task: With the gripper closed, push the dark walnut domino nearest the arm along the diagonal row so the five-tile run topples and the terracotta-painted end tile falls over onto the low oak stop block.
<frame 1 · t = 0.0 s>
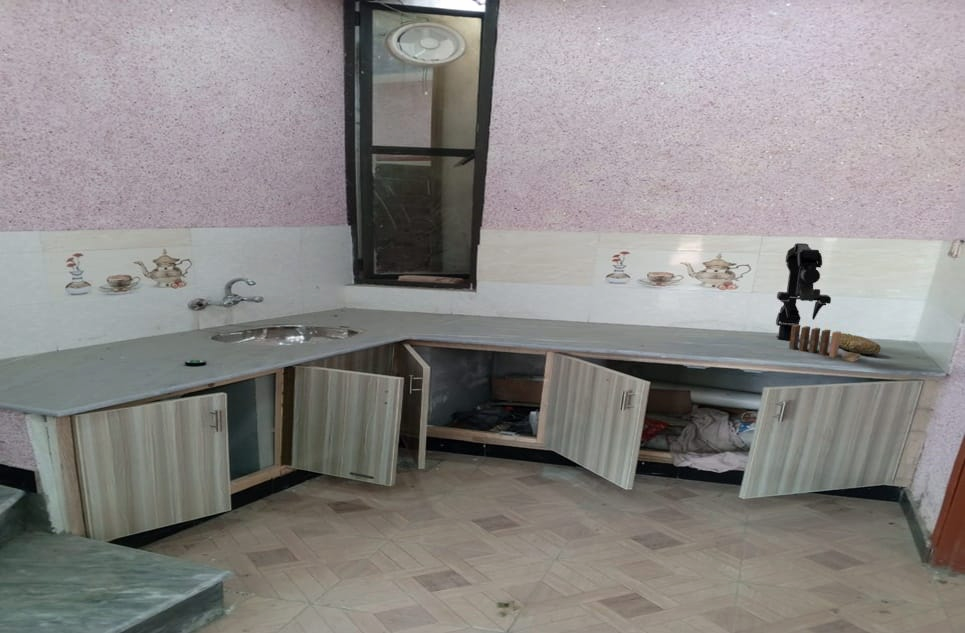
hand: (800, 318, 239), 15 cm above the worktop, fingers open, 9 cm apart
domino 2: (802, 350, 248), on the worktop
domino 5: (833, 356, 239), on the worktop
domino 4: (822, 354, 242), on the worktop
domino 3: (812, 352, 245), on the worktop
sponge: (854, 352, 249), on the worktop
domino 1: (793, 348, 251), on the worktop
stop block: (850, 359, 235), on the worktop
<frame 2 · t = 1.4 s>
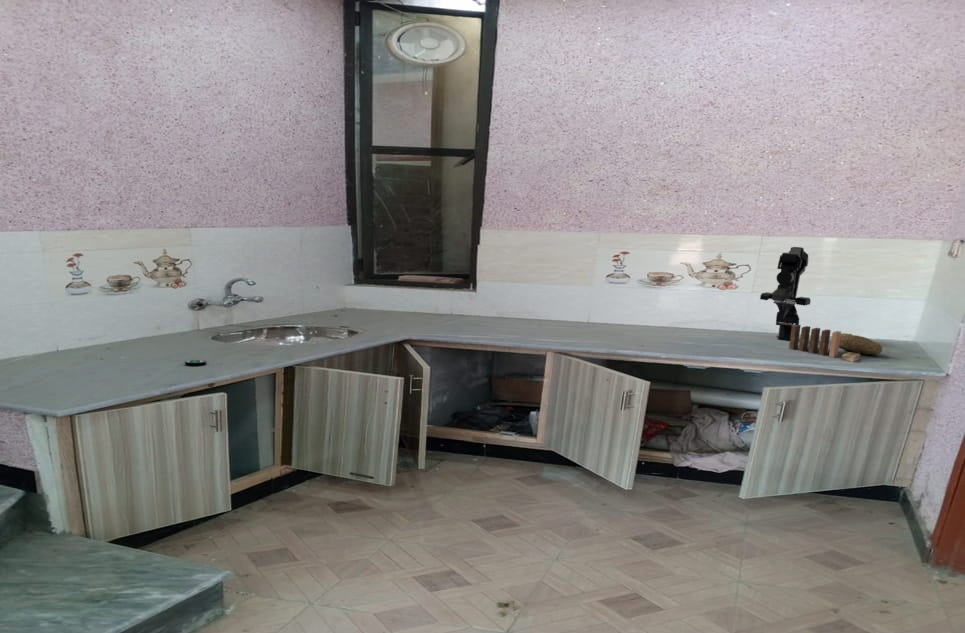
hand: (782, 318, 253), 12 cm above the worktop, fingers closed
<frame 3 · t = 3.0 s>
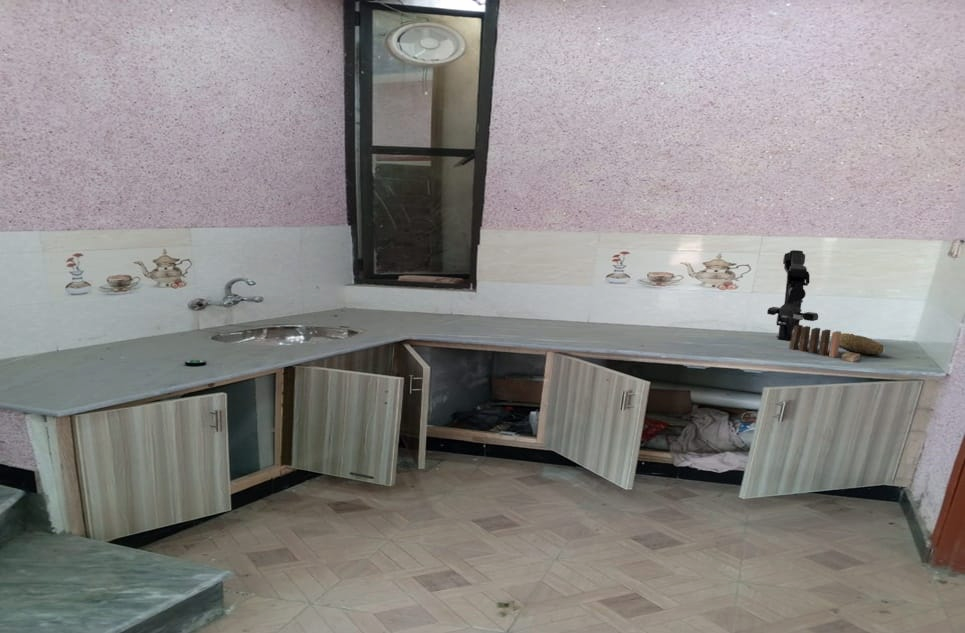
hand: (789, 333, 251), 6 cm above the worktop, fingers closed
domino 1: (793, 348, 251), on the worktop, tilted 6°
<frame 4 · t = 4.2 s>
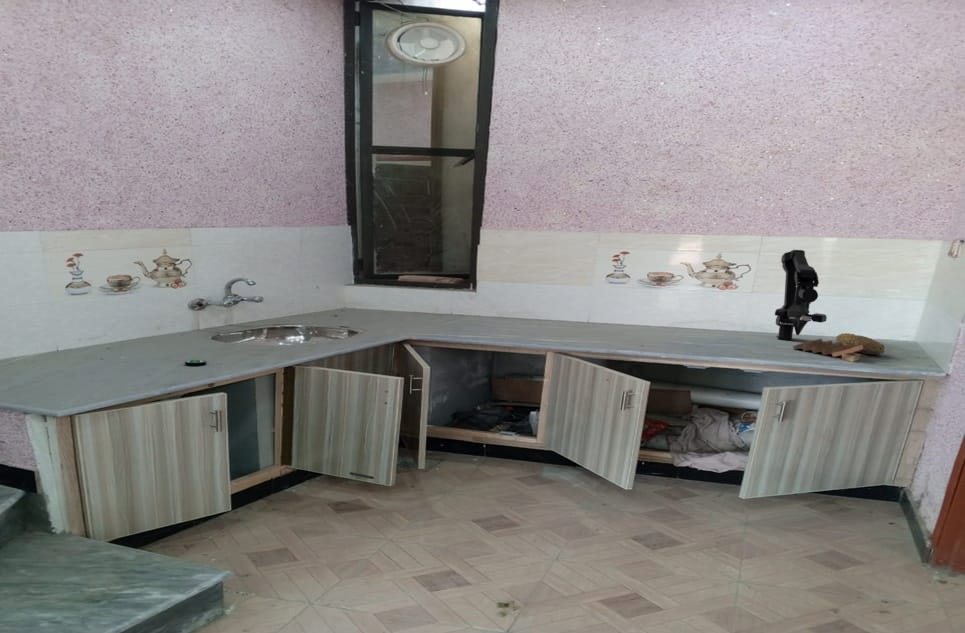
hand: (797, 335, 249), 6 cm above the worktop, fingers closed
domino 2: (805, 348, 247), point 1 cm above the worktop, tilted 64°, touching domino 1, domino 3
domino 5: (834, 354, 239), point 1 cm above the worktop, tilted 62°, touching domino 4, stop block
domino 4: (824, 352, 242), point 1 cm above the worktop, tilted 62°, touching domino 3, domino 5
domino 3: (814, 350, 244), point 1 cm above the worktop, tilted 63°, touching domino 2, domino 4
domino 1: (795, 347, 250), point 1 cm above the worktop, tilted 64°, touching domino 2
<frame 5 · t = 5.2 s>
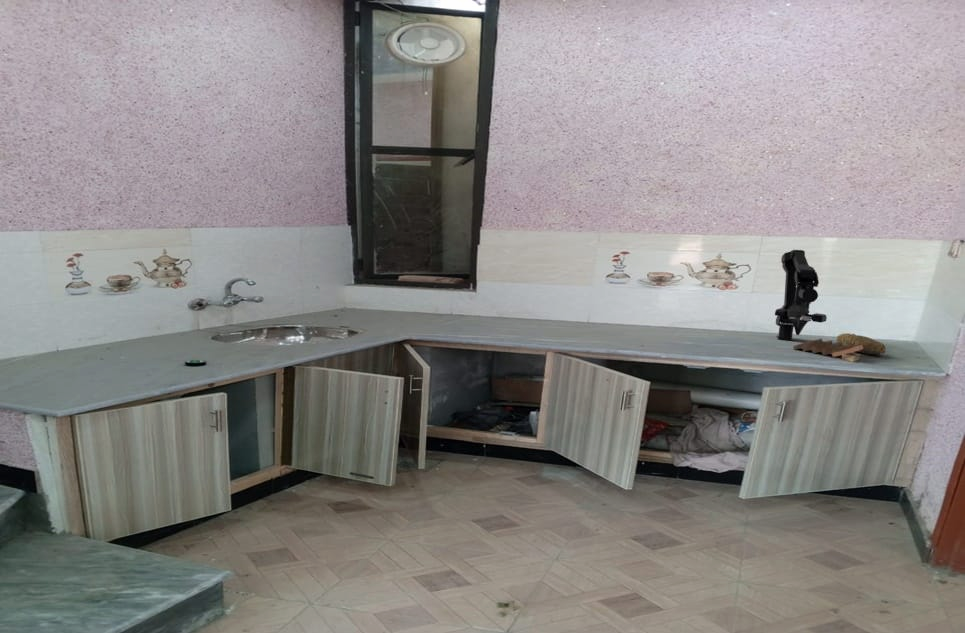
hand: (797, 335, 249), 6 cm above the worktop, fingers closed
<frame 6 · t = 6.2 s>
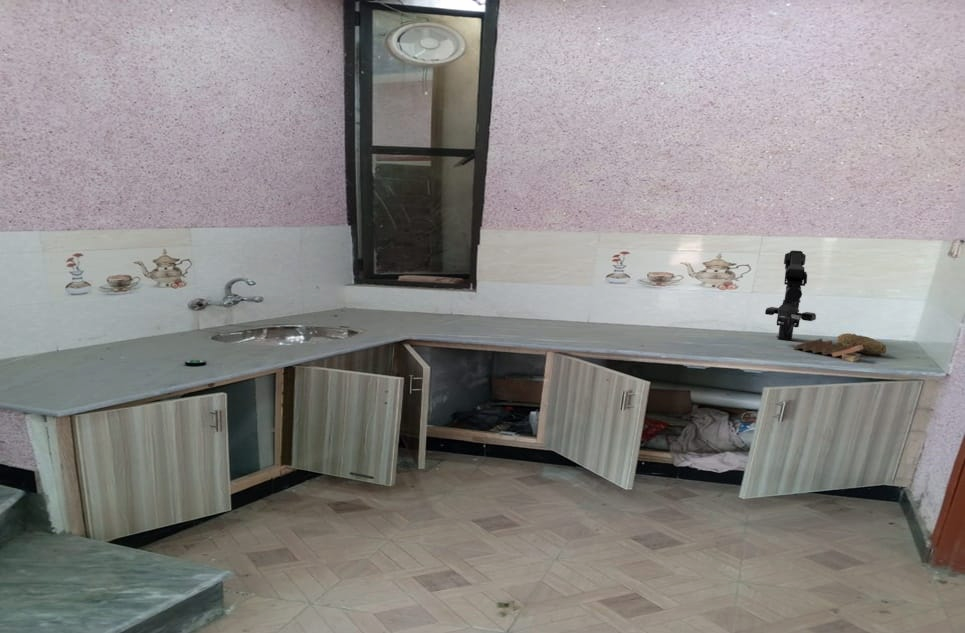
hand: (787, 333, 252), 6 cm above the worktop, fingers closed
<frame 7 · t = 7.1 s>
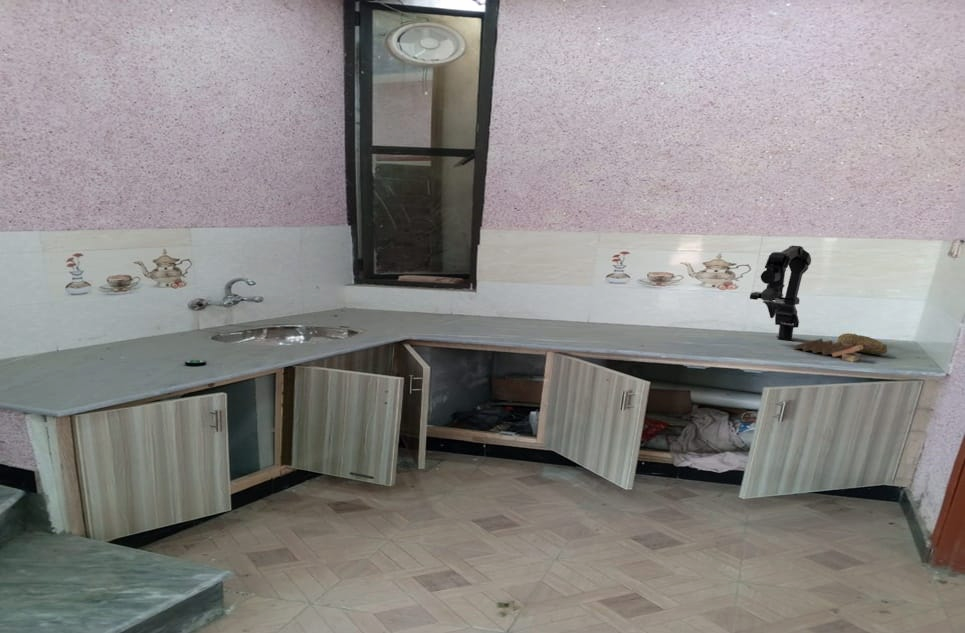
hand: (771, 317, 253), 12 cm above the worktop, fingers closed
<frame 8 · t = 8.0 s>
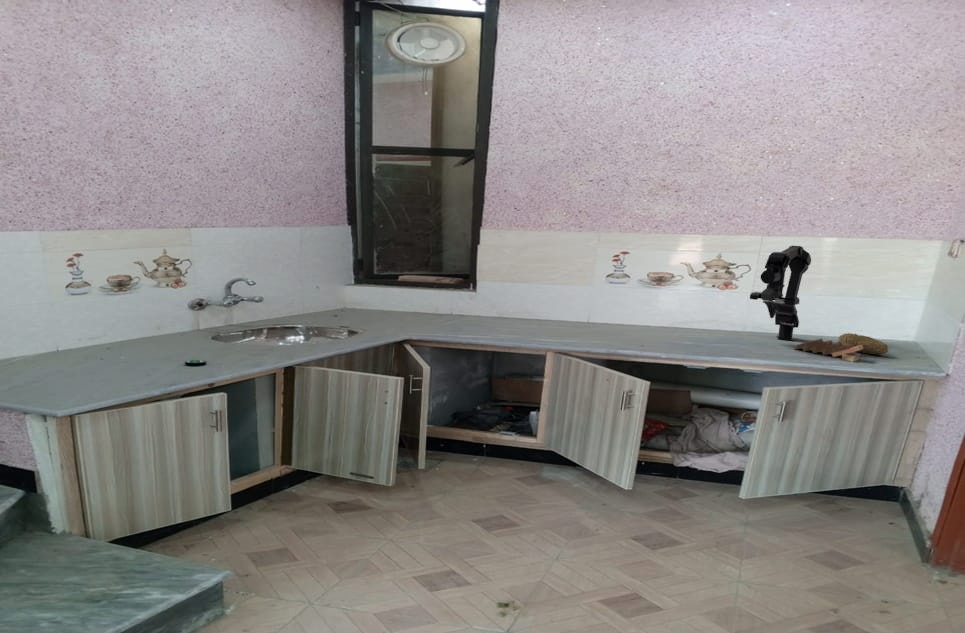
hand: (771, 318, 253), 12 cm above the worktop, fingers closed
at the end: domino 5 tilted 62°; domino 1 tilted 64° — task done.
